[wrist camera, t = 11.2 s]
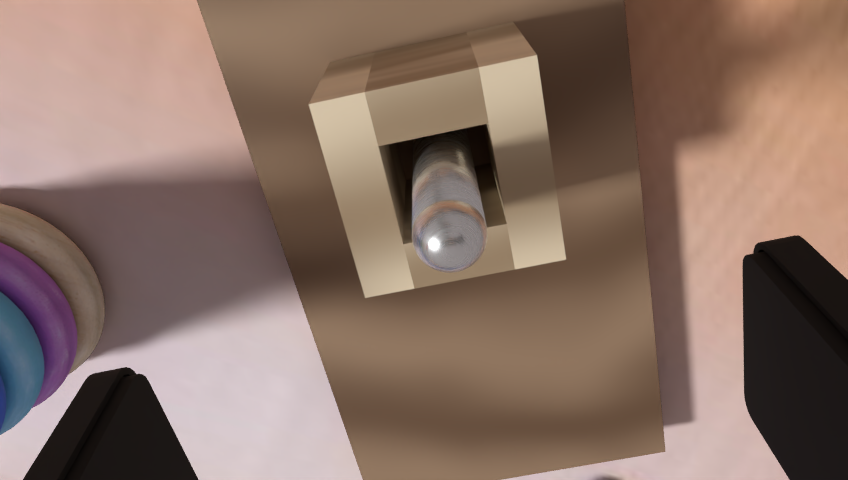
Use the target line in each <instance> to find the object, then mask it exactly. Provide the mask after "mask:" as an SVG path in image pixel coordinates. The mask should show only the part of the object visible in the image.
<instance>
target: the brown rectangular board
mask: <svg viewBox="0 0 848 480" xmlns="http://www.w3.org/2000/svg"><path fill="white" fill-rule="evenodd" d="M197 2H198V5H199V8H200V11H201V14H202V17H203V19H204V22H205V25H206V28H207V31H208V34H209V37H210V40H211V43H212V45H213V48H214V51H215V54H216V57H217V60H218V63H219V66H220V69H221V71H222V74H223V77H224V80H225V83H226V86H227V89H228V92H229V94H230V97H231V100H232V103H233V106H234V109H235V112H236V115H237V118H238V120H239V123H240V126H241V129H242V132H243V135H244V138H245V141H246V144H247V146H248V149H249V152H250V155H251V158H252V161H253V164H254V167H255V169H256V172H257V175H258V178H259V181H260V184H261V187H262V190H263V193H264V195H265V198H266V201H267V204H268V207H269V210H270V213H271V216H272V219H273V221H274V224H275V227H276V230H277V233H278V236H279V239H280V242H281V245H282V247H283V250H284V253H285V256H286V259H287V262H288V265H289V268H290V270H291V273H292V276H293V279H294V282H295V285H296V288H297V291H298V294H299V296H300V299H301V302H302V305H303V308H304V311H305V314H306V317H307V320H308V322H309V325H310V328H311V331H312V334H313V337H314V340H315V343H316V345H317V348H318V351H319V354H320V357H321V360H322V363H323V366H324V369H325V371H326V374H327V377H328V380H329V383H330V386H331V389H332V392H333V395H334V397H335V400H336V403H337V406H338V409H339V412H340V415H341V418H342V421H343V423H344V426H345V429H346V432H347V435H348V438H349V441H350V444H351V446H352V449H353V452H354V455H355V458H356V461H357V464H358V467H359V470H360V472H361V475H362V478H363V480H501V479H507V478H513V477H519V476H525V475H530V474H536V473H542V472H548V471H554V470H560V469H566V468H572V467H577V466H583V465H589V464H595V463H601V462H607V461H613V460H619V459H624V458H630V457H636V456H642V455H648V454H654V453H660V452H665V442H664V431H663V420H662V409H661V398H660V387H659V376H658V365H657V354H656V343H655V332H654V321H653V310H652V299H651V288H650V277H649V266H648V256H647V245H646V234H645V223H644V212H643V201H642V190H641V179H640V168H639V157H638V146H637V135H636V124H635V113H634V102H633V91H632V80H631V69H630V58H629V48H628V37H627V26H626V15H625V4H624V0H197ZM510 22H514V24H515V25H516V26H517V28H518V29H519V31H520V32H521V33H522V35H523V36H524V38H525V39H526V40H527V42H528V43H529V44H530V46H531V47H532V49H533V50H534V51H535V53H536V54H537V58H538V65H539V72H540V79H541V86H542V93H543V100H544V107H545V114H546V121H547V128H548V135H549V142H550V149H551V156H552V163H553V170H554V178H555V185H556V192H557V199H558V206H559V213H560V220H561V227H562V234H563V241H564V248H565V255H566V260H562V261H557V262H551V263H546V264H541V265H536V266H530V267H525V268H520V269H515V270H510V271H504V272H499V273H494V274H489V275H483V276H478V277H473V278H468V279H462V280H457V281H452V282H447V283H441V284H436V285H431V286H426V287H420V288H415V289H410V290H405V291H399V292H394V293H389V294H384V295H378V296H373V297H368V298H365V296H364V292H363V289H362V285H361V282H360V279H359V275H358V272H357V268H356V265H355V261H354V258H353V255H352V251H351V248H350V244H349V241H348V238H347V234H346V231H345V227H344V224H343V220H342V217H341V214H340V210H339V207H338V203H337V200H336V196H335V193H334V190H333V186H332V183H331V179H330V176H329V173H328V169H327V166H326V162H325V159H324V155H323V152H322V149H321V145H320V142H319V138H318V135H317V131H316V128H315V125H314V121H313V118H312V114H311V111H310V108H309V102H310V100H311V98H312V96H313V94H314V92H315V90H316V88H317V86H318V84H319V82H320V80H321V78H322V76H323V74H324V72H325V70H326V68H327V66H328V64H329V62H333V61H338V60H342V59H347V58H351V57H356V56H360V55H365V54H369V53H374V52H378V51H383V50H387V49H392V48H396V47H401V46H405V45H410V44H415V43H419V42H424V41H428V40H433V39H437V38H442V37H446V36H451V35H455V34H460V33H464V32H469V31H473V30H478V29H483V28H487V27H492V26H496V25H501V24H505V23H510ZM466 129H467V134H468V138H469V143H470V148H471V153H472V158H473V163H474V166H477V165H482V164H487V163H490V158H489V152H488V147H487V141H486V136H485V131H484V125H478V126H473V127H468V128H466ZM397 146H398V150H399V155H400V159H401V163H402V167H403V171H404V175H405V179H406V180H408V179H412V178H413V139H411V140H406V141H401V142H397Z"/></svg>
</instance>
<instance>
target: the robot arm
mask: <svg viewBox="0 0 848 480" xmlns="http://www.w3.org/2000/svg"><path fill="white" fill-rule="evenodd" d="M743 332H744V395H745V402H746V406H747V409H748V412H749V414H750V416H751V418H752V420H753V422H754V423H755V425H756V427H757V428H758V430H759V431H760V433H761V435H762V436H763V438H764V439H765V441H766V443H767V444H768V446H769V447H770V449H771V451H772V452H773V454H774V455H775V457H776V459H777V460H778V462H779V463H780V465H781V467H782V468H783V470H784V471H785V473H786V475H787V476H788V478H789V479H790V480H848V280H847V279H846V278H845V277H844V276H843V275H842V274H841V273H840V272H839V271H838V270H837V269H835V268H834V267H833V266H832V265H831V264H830V263H829V262H828V261H827V260H826V259H825V258H824V257H823V256H822V255H820V254H819V253H818V252H817V251H816V250H815V249H814V248H813V247H812V246H811V245H810V244H809V243H808V242H807V241H806V240H804V239H803V238H802V237H800V236H790V237H785V238H780V239H775V240H770V241H765V242H760V243H758V244H756V245H755V248H754V253H753V254H750V255H746V256H745V257H744V259H743ZM23 480H198V478H197V476H196V474H195V472H194V470H193V468H192V466H191V464H190V462H189V460H188V458H187V456H186V454H185V452H184V450H183V448H182V446H181V444H180V442H179V440H178V438H177V437H176V435H175V433H174V431H173V429H172V427H171V425H170V423H169V421H168V419H167V417H166V415H165V413H164V411H163V409H162V407H161V405H160V403H159V401H158V399H157V397H156V395H155V393H154V391H153V389H152V387H151V385H150V383H149V381H148V380H147V378H146V377H145V376H144V375H142V374H136V373H135V372H134V371H133V370H132V369H131V368H127V367H125V368H120V369H115V370H109V371H104V372H99V373H94V374H92V375H89V377H88V378H87V379H86V380H85V382H84V383H83V385H82V386H81V388H80V390H79V391H78V393H77V394H76V396H75V398H74V399H73V401H72V402H71V404H70V406H69V407H68V409H67V410H66V412H65V413H64V415H63V417H62V418H61V420H60V421H59V423H58V425H57V426H56V428H55V429H54V431H53V433H52V434H51V436H50V437H49V439H48V441H47V442H46V444H45V445H44V447H43V448H42V450H41V452H40V453H39V455H38V456H37V458H36V460H35V461H34V463H33V464H32V466H31V468H30V469H29V471H28V472H27V474H26V476H25V477H24V479H23Z"/></svg>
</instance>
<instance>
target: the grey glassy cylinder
mask: <svg viewBox="0 0 848 480" xmlns="http://www.w3.org/2000/svg"><path fill="white" fill-rule="evenodd" d="M487 237H488V233H487V225H486V221H485V216H484V211H483V206H482V201H481V196H480V192H479V187H478V182H477V177H476V172H475V167H474V163H473V158H472V153H471V148H470V143H469V138H468V134H467V129H466V128H464V129H459V130H454V131H449V132H445V133H440V134H435V135H430V136H425V137H421V138H416V139H413V178H412V242H413V246H414V249H415V251H416V253H417V255H418V256H419V258H420V259H421V260H422V261H423V262H424V263H425V264H426V265H427V266H429V267H430V268H432V269H434V270H437V271H440V272H446V273H453V272H459V271H462V270H465V269H467V268H469V267H470V266H472V265H473V264H474V263H475V262H477V260H478V259H479V258H480V257H481V255H482V254H483V252H484V250H485V247H486V244H487Z"/></svg>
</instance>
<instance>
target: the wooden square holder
mask: <svg viewBox="0 0 848 480" xmlns="http://www.w3.org/2000/svg"><path fill="white" fill-rule="evenodd" d="M309 108H310V111H311V114H312V118H313V121H314V125H315V128H316V131H317V135H318V138H319V142H320V145H321V149H322V152H323V155H324V159H325V162H326V166H327V169H328V173H329V176H330V179H331V183H332V186H333V190H334V193H335V196H336V200H337V203H338V207H339V210H340V214H341V217H342V220H343V224H344V227H345V231H346V234H347V238H348V241H349V244H350V248H351V251H352V255H353V258H354V261H355V265H356V268H357V272H358V275H359V279H360V282H361V285H362V289H363V292H364V296H365V298H368V297H373V296H378V295H384V294H389V293H394V292H399V291H405V290H410V289H415V288H420V287H426V286H431V285H436V284H441V283H447V282H452V281H457V280H462V279H468V278H473V277H478V276H483V275H489V274H494V273H499V272H504V271H510V270H515V269H520V268H525V267H530V266H536V265H541V264H546V263H551V262H557V261H562V260H566V255H565V248H564V241H563V234H562V227H561V220H560V213H559V206H558V199H557V192H556V185H555V178H554V170H553V163H552V156H551V149H550V142H549V135H548V128H547V121H546V114H545V107H544V100H543V93H542V86H541V79H540V72H539V65H538V58H537V54H536V53H535V51H534V50H533V49H532V47H531V46H530V44H529V43H528V42H527V40H526V39H525V38H524V36H523V35H522V33H521V32H520V31H519V29H518V28H517V26H516V25H515V24H514V22H510V23H505V24H501V25H496V26H492V27H487V28H483V29H478V30H473V31H469V32H464V33H460V34H455V35H451V36H446V37H442V38H437V39H433V40H428V41H424V42H419V43H415V44H410V45H405V46H401V47H396V48H392V49H387V50H383V51H378V52H374V53H369V54H365V55H360V56H356V57H351V58H347V59H342V60H338V61H333V62H329V64H328V66H327V68H326V70H325V72H324V74H323V76H322V78H321V80H320V82H319V84H318V86H317V88H316V90H315V92H314V94H313V96H312V98H311V100H310V102H309ZM478 125H484V131H485V136H486V141H487V147H488V152H489V158H490V163H487V164H482V165H477V166H474V167H475V172H476V177H477V182H478V187H479V192H480V196H481V201H482V206H483V211H484V216H485V221H486V225H487V233H488V237H487V244H486V247H485V250H484V252H483V254H482V255H481V257H480V258H479V259H478V260H477V262H475V263H474V264H473V265H472V266H470V267H469V268H467V269H465V270H462V271H459V272H453V273H446V272H440V271H437V270H434V269H432V268H430V267H429V266H427V265H426V264H425V263H424V262H423V261H422V260H421V259H420V258H419V256H418V255H417V253H416V251H415V249H414V246H413V242H412V179H408V180H406V179H405V175H404V171H403V167H402V163H401V159H400V155H399V150H398V146H397V142H401V141H406V140H411V139H416V138H421V137H425V136H430V135H435V134H440V133H445V132H449V131H454V130H459V129H464V128H468V127H473V126H478Z"/></svg>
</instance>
